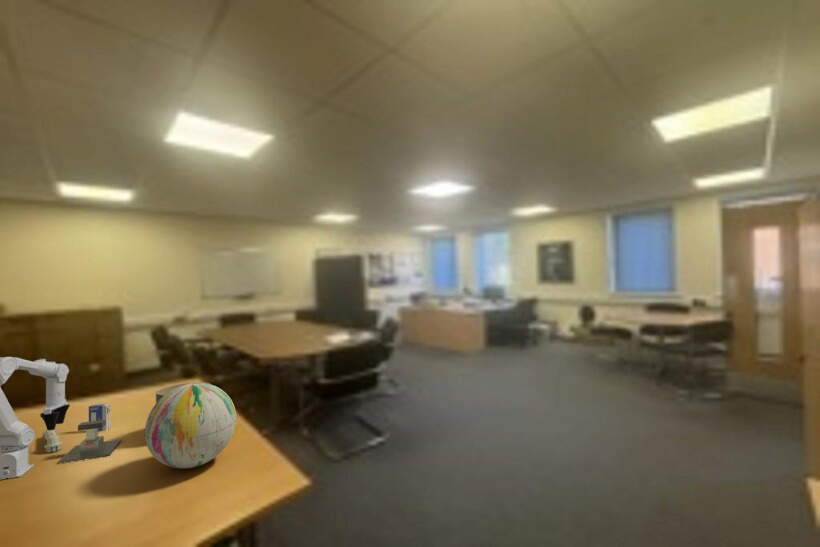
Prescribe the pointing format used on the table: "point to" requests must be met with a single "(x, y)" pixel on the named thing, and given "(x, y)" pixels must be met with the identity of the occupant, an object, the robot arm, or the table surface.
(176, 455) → the globe
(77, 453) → the jack base
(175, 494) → the table surface
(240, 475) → the table surface
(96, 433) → the jack column
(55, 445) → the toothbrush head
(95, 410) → the walkman
